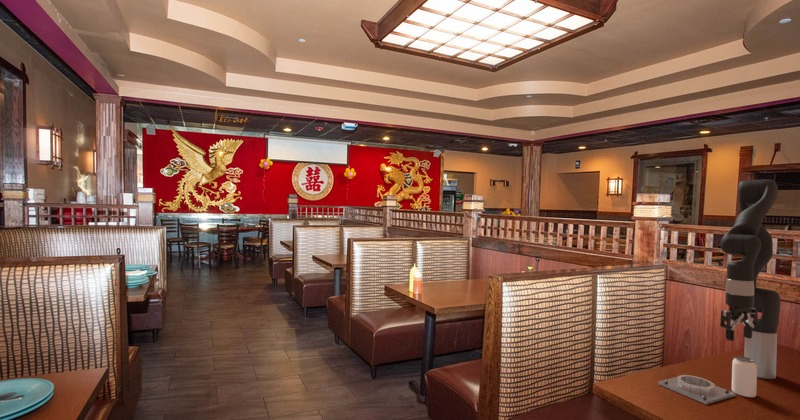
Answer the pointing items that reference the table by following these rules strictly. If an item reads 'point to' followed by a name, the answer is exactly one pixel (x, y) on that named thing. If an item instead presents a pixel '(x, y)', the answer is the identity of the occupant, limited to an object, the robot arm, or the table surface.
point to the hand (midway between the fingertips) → (738, 339)
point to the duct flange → (697, 388)
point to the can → (744, 376)
